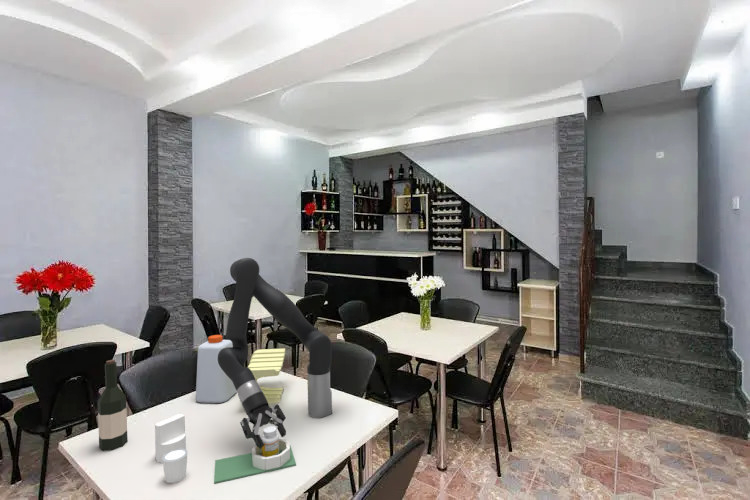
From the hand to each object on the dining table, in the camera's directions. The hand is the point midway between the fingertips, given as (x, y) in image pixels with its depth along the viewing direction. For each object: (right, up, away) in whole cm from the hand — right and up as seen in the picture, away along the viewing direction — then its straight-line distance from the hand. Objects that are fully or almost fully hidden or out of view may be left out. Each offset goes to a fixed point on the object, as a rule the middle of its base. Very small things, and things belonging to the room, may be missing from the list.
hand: (273, 441), depth 123 cm
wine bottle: (-60, -7, +12) cm, 61 cm away
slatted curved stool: (-18, -5, +50) cm, 54 cm away
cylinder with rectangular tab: (-36, -7, +5) cm, 37 cm away
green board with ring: (-6, -7, -1) cm, 9 cm away
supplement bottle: (-1, -6, +1) cm, 7 cm away
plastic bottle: (-40, -6, +52) cm, 65 cm away
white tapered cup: (-28, -8, -7) cm, 30 cm away
